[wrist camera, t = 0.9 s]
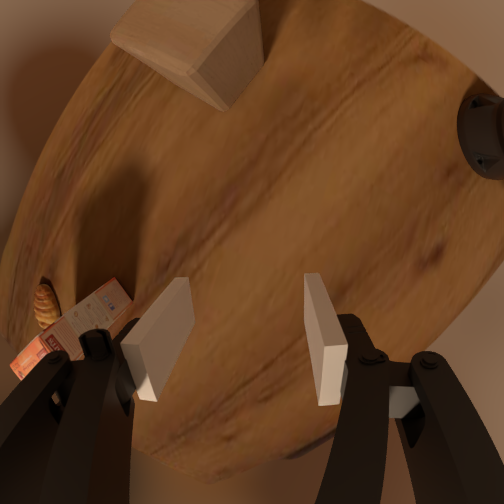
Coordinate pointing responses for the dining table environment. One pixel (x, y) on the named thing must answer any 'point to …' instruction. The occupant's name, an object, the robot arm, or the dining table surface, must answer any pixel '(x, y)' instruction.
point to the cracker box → (74, 326)
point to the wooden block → (196, 44)
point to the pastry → (45, 306)
